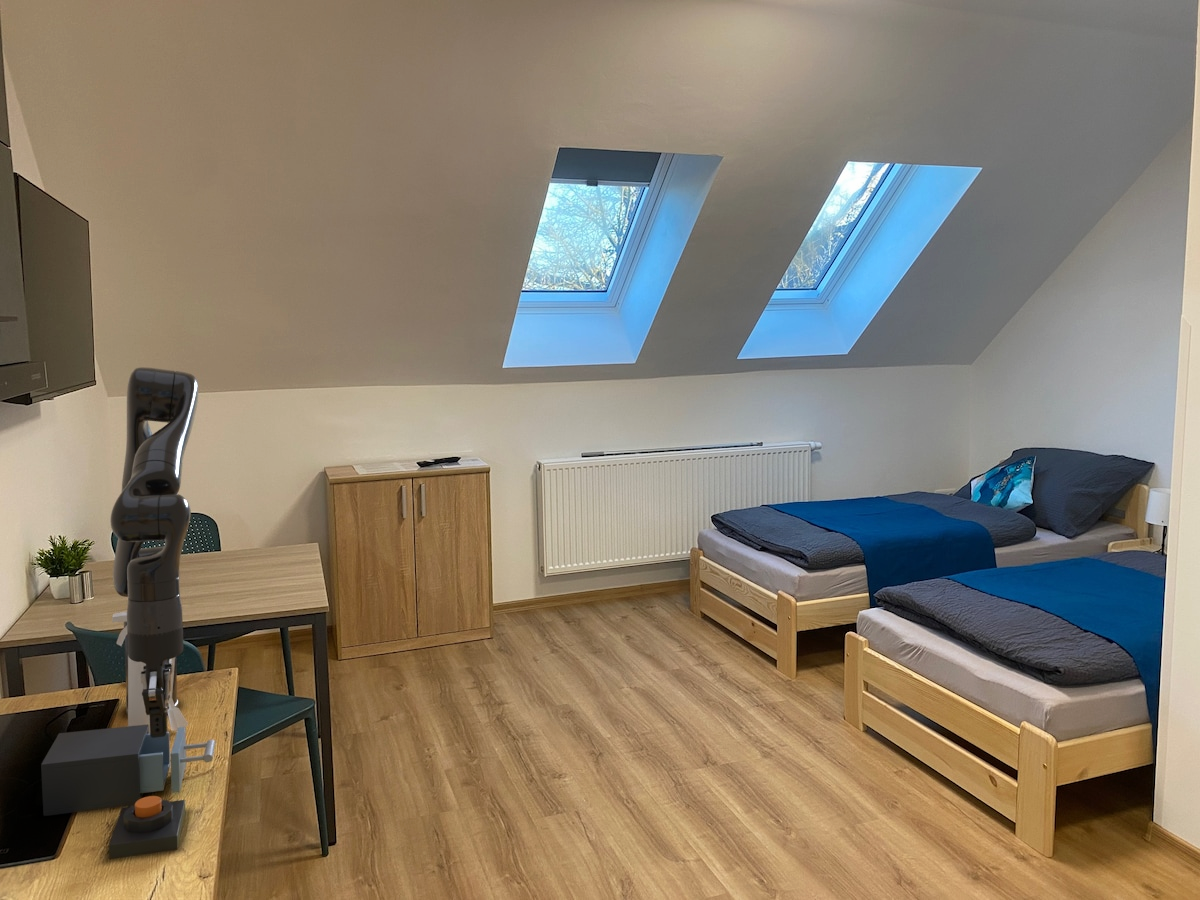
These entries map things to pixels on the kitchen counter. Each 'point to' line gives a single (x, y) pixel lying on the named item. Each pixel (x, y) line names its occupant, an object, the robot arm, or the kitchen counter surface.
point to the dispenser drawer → (167, 760)
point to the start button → (148, 806)
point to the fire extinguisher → (136, 688)
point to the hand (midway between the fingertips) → (159, 735)
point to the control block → (147, 831)
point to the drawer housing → (93, 770)
